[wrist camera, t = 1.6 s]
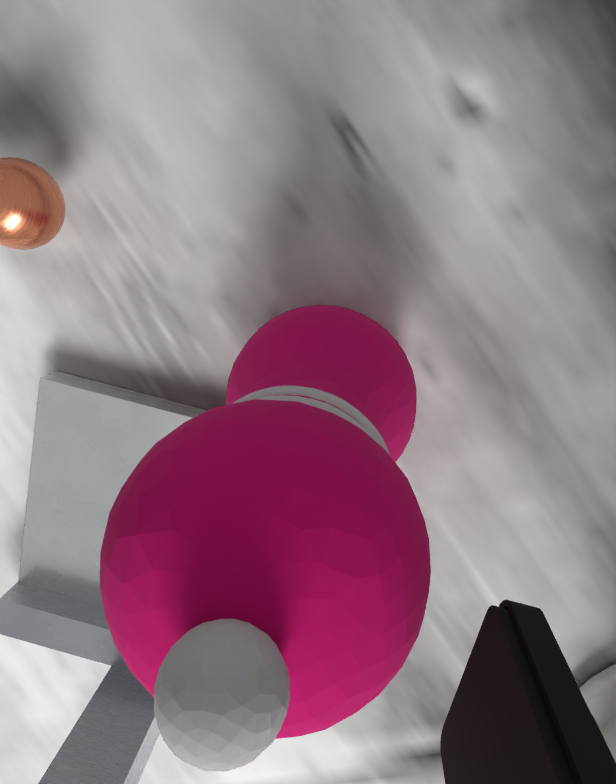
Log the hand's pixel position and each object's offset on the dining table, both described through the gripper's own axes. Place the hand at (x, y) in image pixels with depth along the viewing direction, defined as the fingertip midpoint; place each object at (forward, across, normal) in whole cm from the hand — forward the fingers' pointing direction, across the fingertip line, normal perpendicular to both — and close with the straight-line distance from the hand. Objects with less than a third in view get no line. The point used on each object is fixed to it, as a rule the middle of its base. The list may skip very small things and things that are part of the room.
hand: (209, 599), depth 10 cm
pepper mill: (+17, -1, 0) cm, 17 cm away
